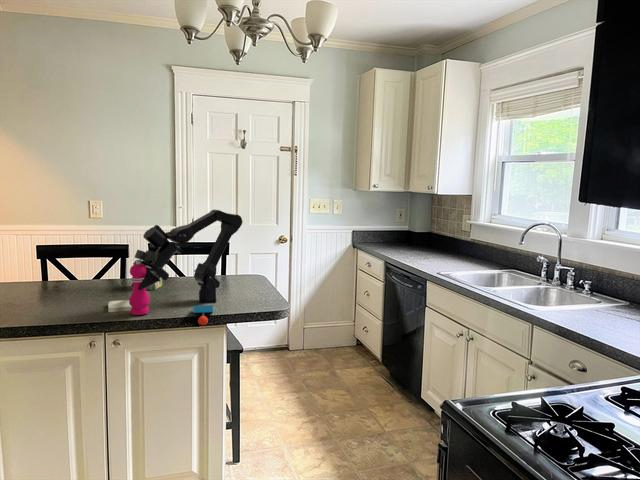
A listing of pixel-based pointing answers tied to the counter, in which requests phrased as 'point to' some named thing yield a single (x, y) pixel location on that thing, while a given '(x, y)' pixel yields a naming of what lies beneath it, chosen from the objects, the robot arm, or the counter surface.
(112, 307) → the plinth
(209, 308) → the lever
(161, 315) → the counter surface
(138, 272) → the pepper mill
